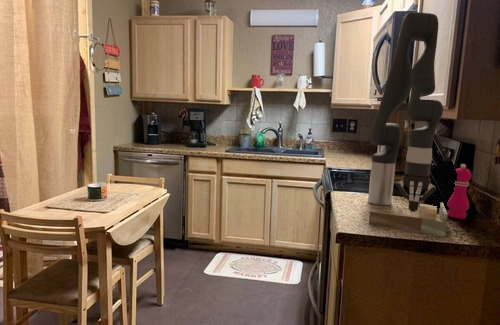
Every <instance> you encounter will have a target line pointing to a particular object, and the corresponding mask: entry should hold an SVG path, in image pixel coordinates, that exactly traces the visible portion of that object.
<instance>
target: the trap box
mask: <svg viewBox="0 0 500 325" xmlns="http://www.w3.org/2000/svg"><path fill="white" fill-rule="evenodd" d="M398 210H399V211H398V212H394V211H388V210H386V211H385V210H383V205H373V208H372V210H370V212H369V218H368V225H369V226H376V227H382V228H389V229H395V230H396V229H397V230H403V231H409V232H413V233H421V234H428V235H434V236H441V237H446V232H447V224H448V222H447V221H448V214H447V213H448V210H446V208H445V206H444V203H443V202H440V208H438V213H437V215H436V220H430V219H423V218H418V217H419V215H416V214H415V215H414V214H408V213H403V209H402V208H399V209H398Z"/></svg>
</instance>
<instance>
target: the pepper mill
mask: <svg viewBox="0 0 500 325" xmlns="http://www.w3.org/2000/svg"><path fill="white" fill-rule="evenodd" d="M455 170H456V172H457V174H458V175H457V181H455V183H454V184H455V187H454V192H453V194H452V195H451V197H450V198H449V200H448V202H447V206H448V207H449V209H450V210H447V214H448V215H447V217H451V218H455V219H460V220H462V219H466V218H467V211H468V210H469V209H470V201H469V199H468V195H467V188H468V187H469V183H470V182H469V181H471V179H472V172H471V171H470V170H469V168H467V165H466V164H465V163H461V164H460V167H458V168H456V169H455Z"/></svg>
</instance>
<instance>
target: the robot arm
mask: <svg viewBox="0 0 500 325" xmlns="http://www.w3.org/2000/svg"><path fill="white" fill-rule="evenodd" d="M438 35H439V18H438V16H437V14H434V13H429V12H419V11H408V12H406V13H405V15H404V17H403V20H402V22H401V26H400V30H399V34H398V38H397V43H396V48H395V52H394V56H393V60H392V64H391V67H390V70H389V72H388V75H387V79H386V83H385V84H384V85H385V86H384V89H383V93H382V98H381V100H380V104H379V107H378V109H377V112H376V114H375V117H374V120H373V122H372V124H371V128H370V132H369V141H370V144H372V145H374V146H384V148H383V149H382V150H380V151H378V152H376V153H373V154H372V156H371V164H370V166H371V167H370V179H369V189H368V195H367V197H368V199H367V202H368V203H370V204H373V205H376V206H391V205H392V199H393V190H394V182H395V181H394V180H395V171H396V170H395V169H396V162H397V158H398V155H399V147H400V141H401V128H400V125H399V124H397V123H392V122H388V121H389V119H390V117H391V116H392V114H393V113H394V112H395V111H396V110H397V109H399V107H400V106H402V105H403V104H404V103H405V102H406V100H407V99H408V97H409V96H410V97H409V101H408V104H407V107H406V116H407V118H408V119H409V120H410V121H413V122H426V124H424V126H423V127H418V128H414V129H411V131H410V132H409V139H408V140H409V141H408V148H407V152H406V157H405V159H406V160H405V168H404V174H403V177H402V179H401V180H400V181H396V182H395V186H396V188H397V189H398V191H399V192H400V194H401V195H402V197H403V198H404V199H406V200H408V210H409V211H410V213H416V212H417V211H419V210H418V209H419V203H420V202H421V201H422V202H424V201H426V200H427V199H428V198H429V197H430V196H431V195H432V194H433V193H434V191H436V187H435V185H434V184H432V183H431V179H430V175H431V168H432V167H431V166H432V161H433V142H434V137H435V134H436V130H437V127H438V126H439V123H440V121H441V118H442V116H443V112H444V105H443V103H442V102H441V101H440V100H437V99H421V98H423V97H427V96H428V97H429V96H431V95H433V93H435V91H436V78H435V77H436V76H435V64H436V63H435V62H436V52H437V44H438V38H439V36H438ZM411 41H414V42H423V50H422V52H421V54H420V56H419V57H418V59H416V62H414V64H413V66H412V65H411V64H412V63H411V61H410V56H409V48H410V45H411V44H410V42H411ZM404 185H405V187H406V188H407V190H409V194H408V193H407V191H406V189H404ZM426 188H427V190H426V192H424V193H423V194H422V195H421V192H423V191H424V190H425V189H426ZM414 191H415V196H414Z"/></svg>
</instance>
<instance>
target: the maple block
mask: <svg viewBox="0 0 500 325" xmlns="http://www.w3.org/2000/svg"><path fill="white" fill-rule="evenodd" d="M418 209H419V210H418V216H419V217H418V218H423V219H430V220H436V215H437V214H438V208H437V206H433V204H432V205H430V204H425V203H420V204H419V207H418Z"/></svg>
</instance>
